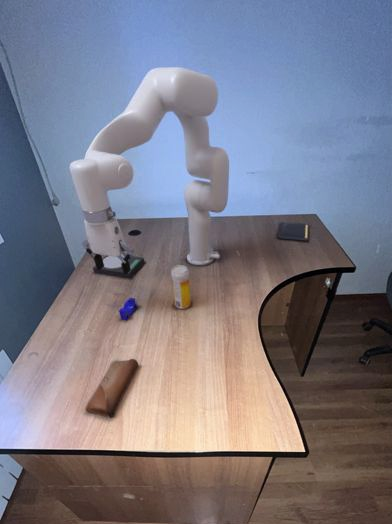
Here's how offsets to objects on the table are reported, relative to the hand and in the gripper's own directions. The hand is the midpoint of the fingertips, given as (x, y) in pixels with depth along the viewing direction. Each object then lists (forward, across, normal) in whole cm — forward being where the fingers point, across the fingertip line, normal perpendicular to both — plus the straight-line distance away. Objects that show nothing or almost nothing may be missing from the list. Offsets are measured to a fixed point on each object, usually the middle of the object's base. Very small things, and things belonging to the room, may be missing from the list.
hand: (113, 270), depth 85 cm
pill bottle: (+17, -19, -10) cm, 27 cm away
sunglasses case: (+18, -13, +31) cm, 38 cm away
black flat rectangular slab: (+16, -53, -84) cm, 101 cm away
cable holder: (+17, -1, 0) cm, 17 cm away
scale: (+17, +18, -28) cm, 37 cm away
